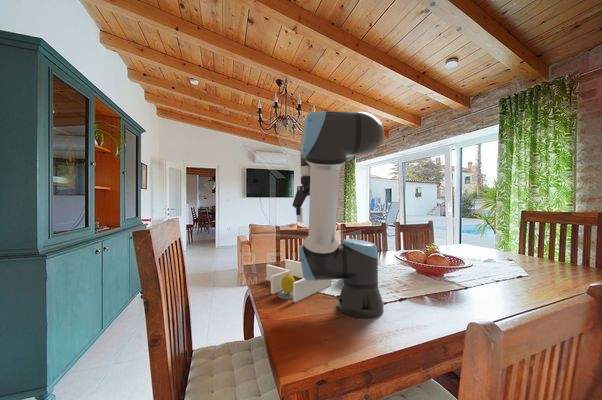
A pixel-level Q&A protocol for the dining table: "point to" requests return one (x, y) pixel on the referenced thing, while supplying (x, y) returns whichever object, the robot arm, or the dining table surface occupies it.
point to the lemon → (287, 283)
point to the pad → (285, 295)
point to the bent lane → (300, 287)
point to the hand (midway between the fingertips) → (309, 221)
